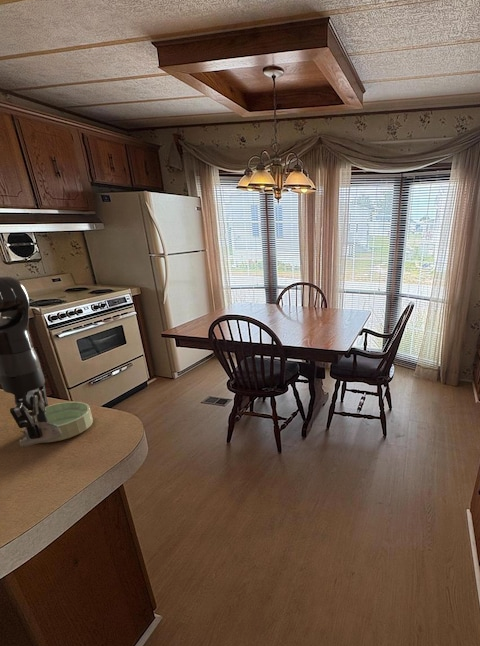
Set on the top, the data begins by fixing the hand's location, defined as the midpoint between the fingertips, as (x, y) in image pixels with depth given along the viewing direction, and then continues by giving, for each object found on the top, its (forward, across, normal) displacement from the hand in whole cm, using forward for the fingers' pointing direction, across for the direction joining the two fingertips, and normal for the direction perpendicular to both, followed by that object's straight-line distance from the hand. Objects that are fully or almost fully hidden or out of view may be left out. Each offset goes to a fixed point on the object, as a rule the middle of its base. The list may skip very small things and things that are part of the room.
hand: (39, 431), depth 84 cm
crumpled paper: (+3, 0, 0) cm, 3 cm away
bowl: (+8, -15, -1) cm, 17 cm away
